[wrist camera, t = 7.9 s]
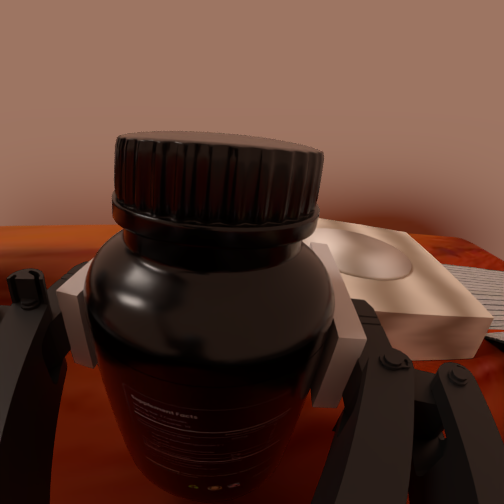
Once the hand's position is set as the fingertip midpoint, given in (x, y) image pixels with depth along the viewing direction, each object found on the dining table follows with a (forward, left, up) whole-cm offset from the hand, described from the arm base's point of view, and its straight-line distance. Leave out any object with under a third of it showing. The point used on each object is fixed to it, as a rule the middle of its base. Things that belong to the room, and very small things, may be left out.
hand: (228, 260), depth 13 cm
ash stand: (+10, +13, -8) cm, 18 cm away
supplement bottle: (0, -5, -7) cm, 8 cm away
